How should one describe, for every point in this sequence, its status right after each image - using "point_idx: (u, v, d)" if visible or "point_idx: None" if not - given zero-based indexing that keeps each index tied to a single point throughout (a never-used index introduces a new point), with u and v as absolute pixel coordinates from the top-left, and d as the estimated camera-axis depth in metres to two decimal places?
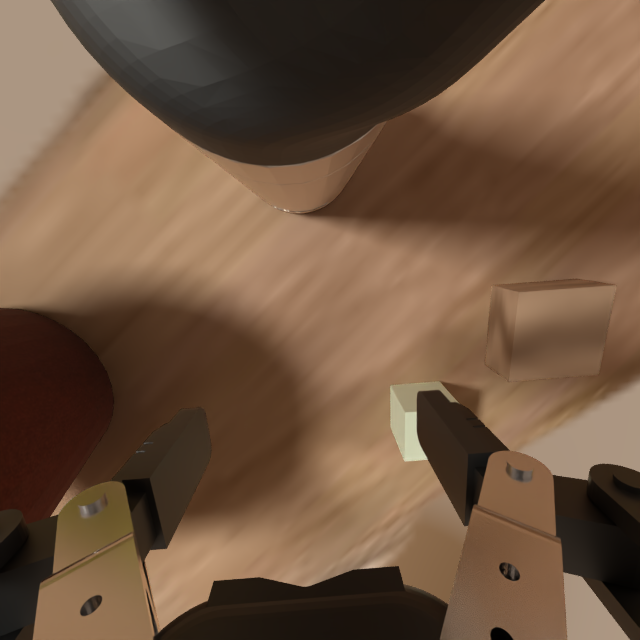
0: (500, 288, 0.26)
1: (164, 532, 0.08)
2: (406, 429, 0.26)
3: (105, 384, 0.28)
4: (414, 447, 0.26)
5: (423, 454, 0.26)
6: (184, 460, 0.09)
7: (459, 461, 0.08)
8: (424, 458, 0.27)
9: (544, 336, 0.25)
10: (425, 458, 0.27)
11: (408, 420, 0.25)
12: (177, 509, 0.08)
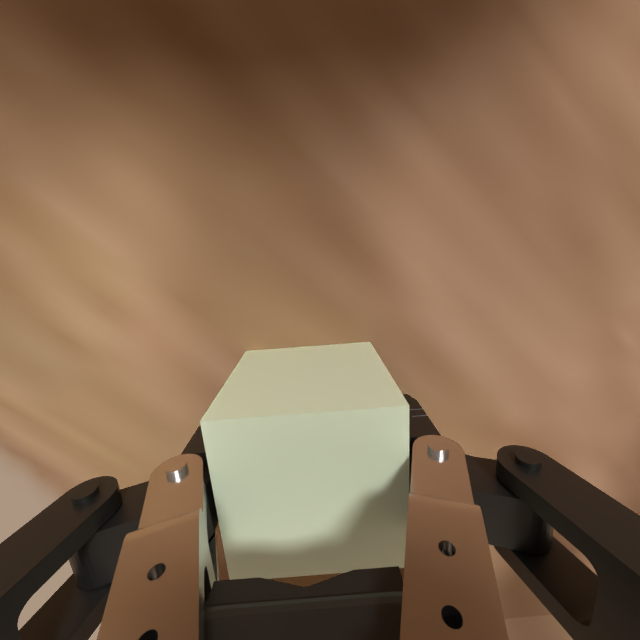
0: None
1: None
2: (337, 417, 0.07)
3: None
4: (262, 448, 0.07)
5: (234, 479, 0.07)
6: None
7: None
8: (213, 481, 0.08)
9: None
10: (217, 487, 0.07)
11: (374, 420, 0.07)
12: None
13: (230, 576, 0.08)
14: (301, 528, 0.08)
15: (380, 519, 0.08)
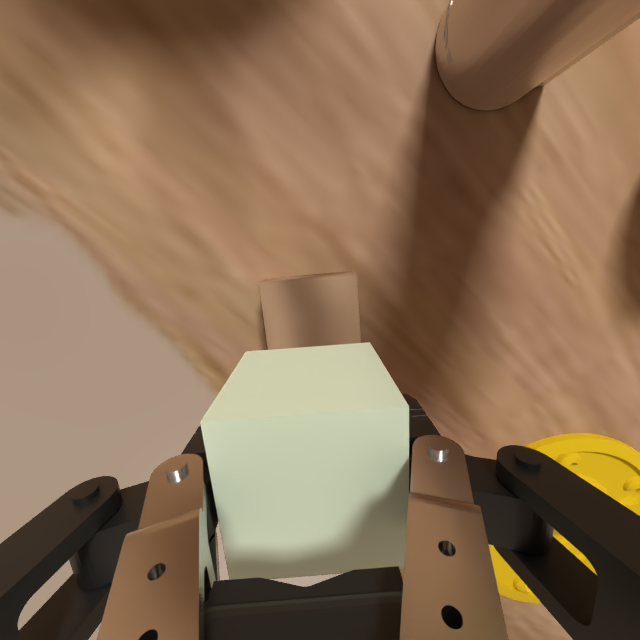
0: (352, 272, 0.26)
1: None
2: (337, 418, 0.07)
3: None
4: (262, 449, 0.07)
5: (234, 480, 0.07)
6: None
7: None
8: (213, 482, 0.08)
9: (311, 310, 0.25)
10: (217, 487, 0.07)
11: (374, 421, 0.07)
12: None
13: (230, 576, 0.08)
14: (301, 529, 0.08)
15: (380, 519, 0.08)
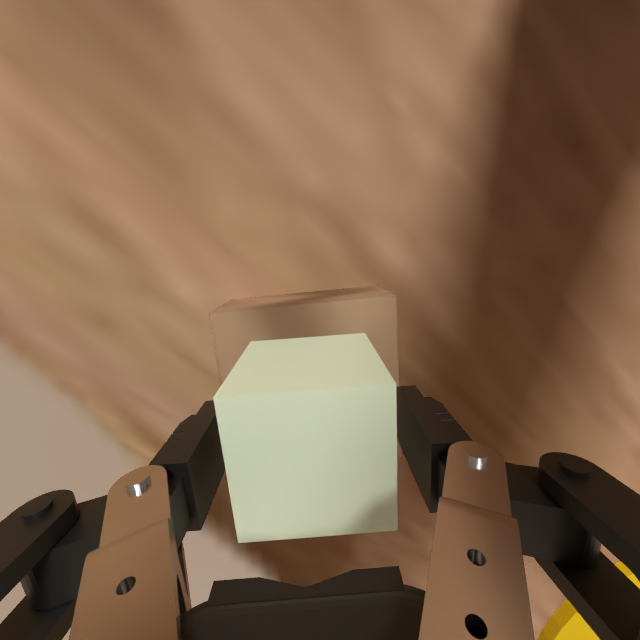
0: (381, 288, 0.15)
1: (199, 515, 0.08)
2: (333, 394, 0.08)
3: None
4: (268, 422, 0.08)
5: (243, 449, 0.08)
6: (213, 448, 0.10)
7: (425, 451, 0.08)
8: (224, 451, 0.09)
9: None
10: (228, 456, 0.09)
11: (366, 397, 0.08)
12: (208, 494, 0.09)
13: (238, 538, 0.09)
14: (302, 494, 0.09)
15: (372, 485, 0.09)
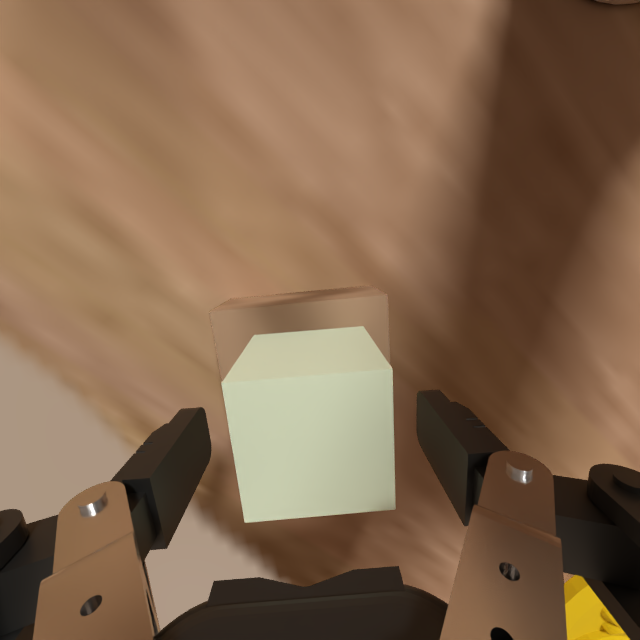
0: (374, 288, 0.16)
1: (164, 532, 0.08)
2: (334, 379, 0.09)
3: None
4: (272, 406, 0.09)
5: (249, 432, 0.09)
6: (184, 460, 0.09)
7: (459, 461, 0.08)
8: (231, 434, 0.09)
9: None
10: (235, 439, 0.09)
11: (364, 381, 0.09)
12: (177, 509, 0.08)
13: (245, 518, 0.10)
14: (305, 475, 0.09)
15: (371, 466, 0.09)
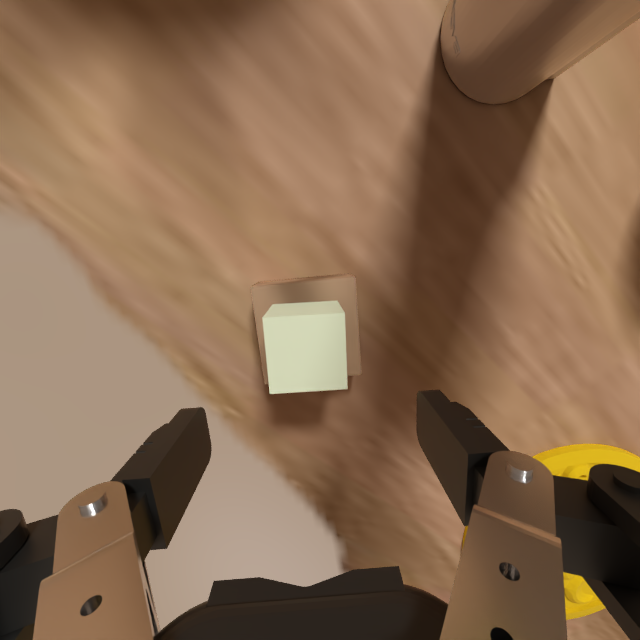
0: (350, 274, 0.25)
1: (164, 532, 0.08)
2: (316, 317, 0.18)
3: None
4: (286, 330, 0.18)
5: (274, 343, 0.18)
6: (184, 460, 0.09)
7: (459, 461, 0.08)
8: (265, 345, 0.18)
9: None
10: (267, 347, 0.18)
11: (331, 319, 0.18)
12: (177, 509, 0.08)
13: (270, 391, 0.19)
14: (301, 368, 0.19)
15: (334, 364, 0.19)
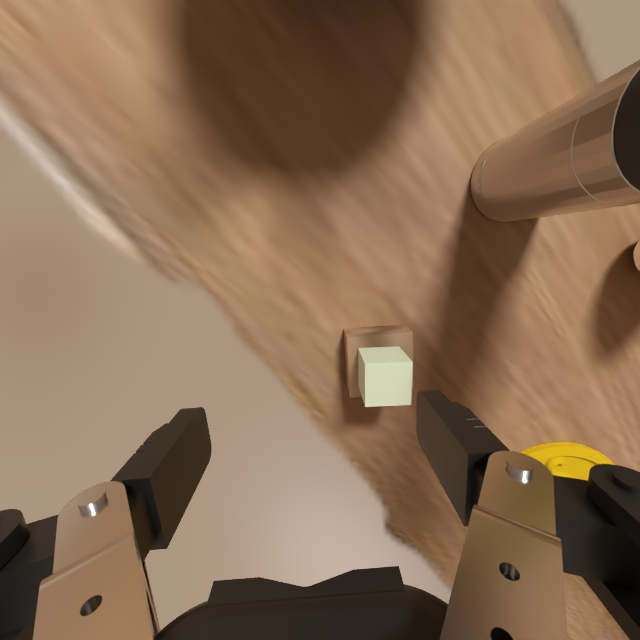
0: (406, 326, 0.38)
1: (164, 532, 0.08)
2: (396, 364, 0.31)
3: None
4: (378, 371, 0.31)
5: (370, 378, 0.31)
6: (184, 460, 0.09)
7: (459, 461, 0.08)
8: (365, 379, 0.31)
9: None
10: (366, 380, 0.31)
11: (404, 365, 0.31)
12: (177, 509, 0.08)
13: (365, 405, 0.32)
14: (385, 392, 0.32)
15: (404, 390, 0.32)
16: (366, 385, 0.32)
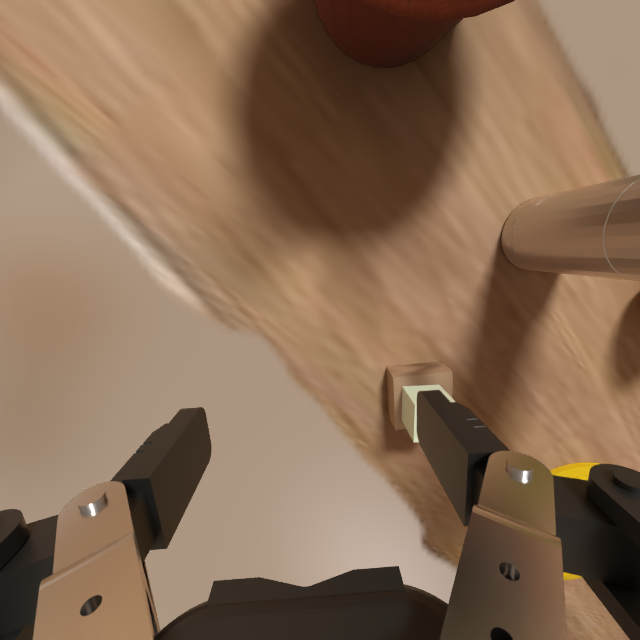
0: (444, 364, 0.42)
1: (164, 532, 0.08)
2: None
3: (393, 64, 0.34)
4: None
5: None
6: (184, 460, 0.09)
7: (459, 461, 0.08)
8: (414, 418, 0.36)
9: None
10: (415, 419, 0.35)
11: None
12: (177, 509, 0.08)
13: (413, 441, 0.36)
14: None
15: None
16: (415, 423, 0.36)
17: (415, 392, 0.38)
